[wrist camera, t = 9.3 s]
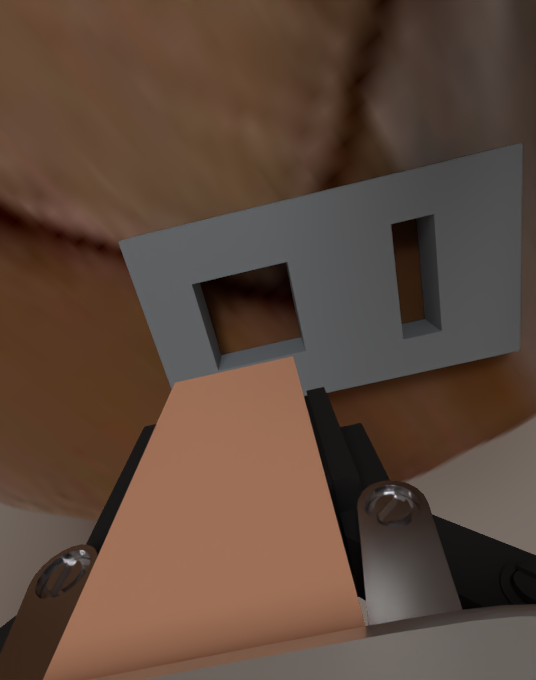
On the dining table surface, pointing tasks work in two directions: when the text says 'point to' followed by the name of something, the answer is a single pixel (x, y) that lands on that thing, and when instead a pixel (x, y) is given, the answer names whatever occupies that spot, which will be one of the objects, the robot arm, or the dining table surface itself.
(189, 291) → the socket board
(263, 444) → the square peg
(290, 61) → the dining table surface
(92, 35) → the dining table surface
